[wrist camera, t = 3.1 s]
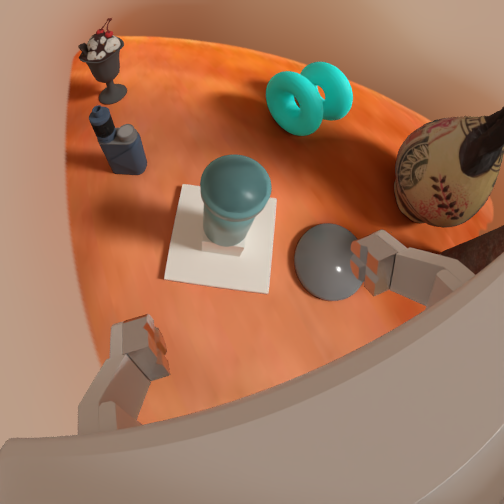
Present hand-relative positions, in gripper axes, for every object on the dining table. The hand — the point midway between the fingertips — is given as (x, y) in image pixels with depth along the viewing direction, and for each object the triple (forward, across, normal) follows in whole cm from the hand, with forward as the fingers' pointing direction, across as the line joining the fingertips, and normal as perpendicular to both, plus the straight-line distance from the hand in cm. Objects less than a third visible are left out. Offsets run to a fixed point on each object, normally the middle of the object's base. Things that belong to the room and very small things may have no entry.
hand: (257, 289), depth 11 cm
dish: (+17, -13, +17) cm, 27 cm away
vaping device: (+31, +8, +1) cm, 32 cm away
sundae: (+43, +9, -10) cm, 45 cm away
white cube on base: (+22, -1, +11) cm, 24 cm away
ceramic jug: (+22, -32, +15) cm, 42 cm away
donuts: (+34, -19, +2) cm, 39 cm away
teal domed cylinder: (+18, -2, +7) cm, 20 cm away
